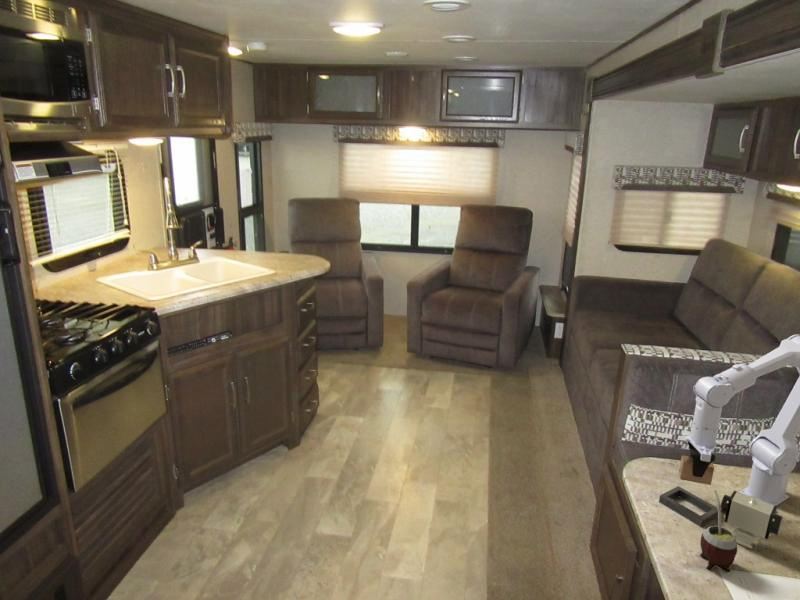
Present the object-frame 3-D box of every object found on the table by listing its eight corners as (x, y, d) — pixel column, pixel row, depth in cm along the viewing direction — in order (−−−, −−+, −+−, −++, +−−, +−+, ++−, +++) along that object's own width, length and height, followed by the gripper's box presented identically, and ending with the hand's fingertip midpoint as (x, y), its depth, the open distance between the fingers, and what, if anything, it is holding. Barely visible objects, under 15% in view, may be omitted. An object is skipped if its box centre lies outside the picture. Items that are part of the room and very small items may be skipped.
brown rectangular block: (708, 477, 148) (712, 460, 146) (710, 485, 145) (714, 467, 143) (679, 472, 150) (681, 455, 149) (680, 479, 147) (683, 462, 145)
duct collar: (677, 492, 152) (678, 486, 152) (719, 516, 143) (720, 509, 142) (658, 501, 148) (660, 495, 148) (700, 527, 139) (702, 520, 138)
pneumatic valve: (770, 560, 128) (781, 514, 125) (713, 535, 136) (723, 492, 133) (775, 547, 132) (786, 503, 129) (720, 524, 140) (729, 482, 136)
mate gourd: (723, 580, 122) (736, 520, 118) (687, 558, 128) (698, 501, 124) (739, 565, 127) (752, 507, 122) (703, 545, 133) (714, 489, 128)
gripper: (684, 408, 151) (676, 454, 155) (691, 434, 138) (682, 483, 141) (714, 413, 148) (705, 459, 152) (724, 440, 135) (714, 490, 139)
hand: (696, 471), depth 147 cm, fingers closed on brown rectangular block, 3 cm apart
